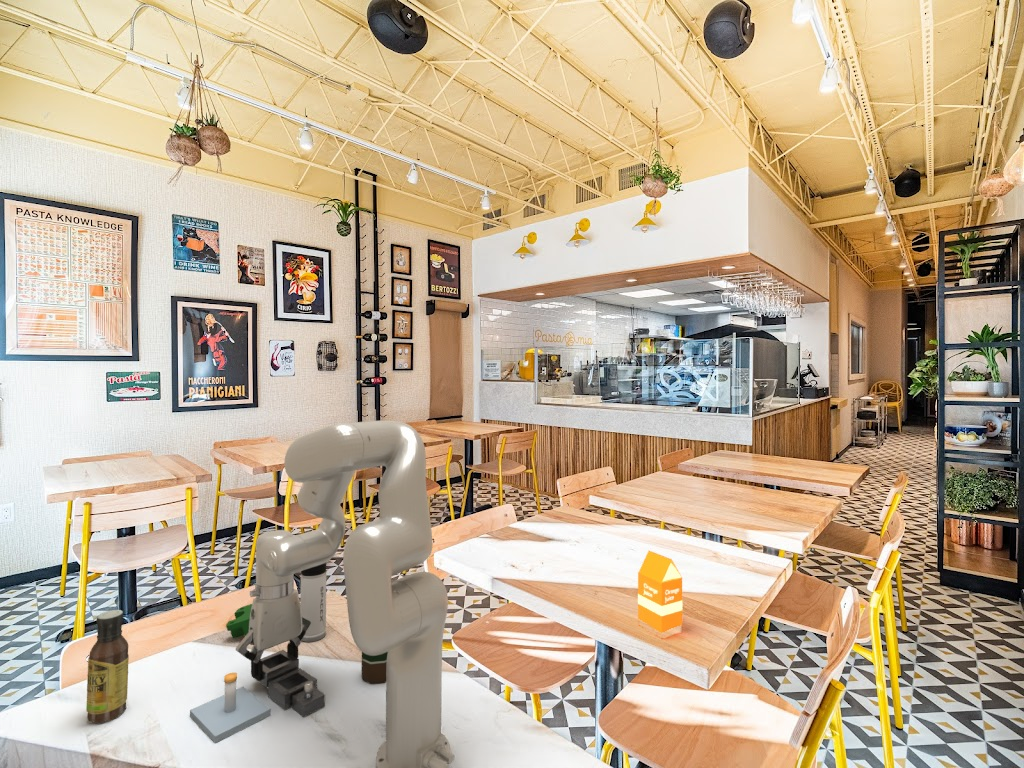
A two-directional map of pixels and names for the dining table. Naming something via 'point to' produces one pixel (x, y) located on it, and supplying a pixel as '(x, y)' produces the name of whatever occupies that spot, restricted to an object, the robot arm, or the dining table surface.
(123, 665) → the sauce bottle
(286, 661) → the end link
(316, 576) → the travel mug
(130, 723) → the dining table surface
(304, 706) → the knobbed metal block
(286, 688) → the link
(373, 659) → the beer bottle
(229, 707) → the keeper
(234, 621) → the green mounting bracket
